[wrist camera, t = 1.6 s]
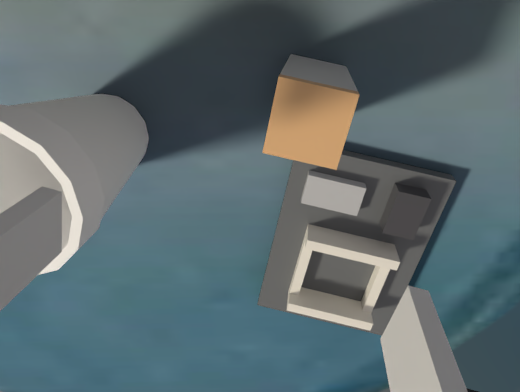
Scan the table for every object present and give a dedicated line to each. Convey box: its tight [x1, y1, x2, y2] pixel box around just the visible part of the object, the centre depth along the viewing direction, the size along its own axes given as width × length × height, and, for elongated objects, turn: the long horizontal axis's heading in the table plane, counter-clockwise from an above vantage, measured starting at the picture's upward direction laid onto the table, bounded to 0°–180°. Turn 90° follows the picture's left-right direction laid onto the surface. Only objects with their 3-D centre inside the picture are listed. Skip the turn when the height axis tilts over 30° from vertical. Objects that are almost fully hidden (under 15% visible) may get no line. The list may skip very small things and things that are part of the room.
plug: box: [263, 54, 359, 170], centre depth 24 cm, size 4×4×10 cm
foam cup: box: [0, 94, 149, 275], centre depth 27 cm, size 10×9×13 cm
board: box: [258, 150, 456, 335], centre depth 32 cm, size 16×12×4 cm
